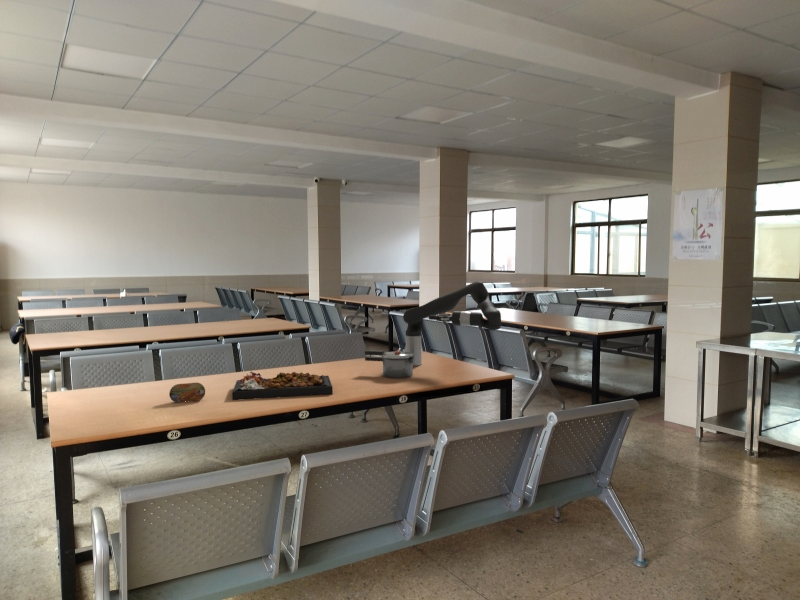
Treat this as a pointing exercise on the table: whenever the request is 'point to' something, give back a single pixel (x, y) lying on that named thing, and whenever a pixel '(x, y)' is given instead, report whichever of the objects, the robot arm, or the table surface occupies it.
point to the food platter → (282, 386)
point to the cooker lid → (391, 354)
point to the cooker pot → (395, 367)
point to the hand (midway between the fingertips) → (429, 317)
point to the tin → (187, 392)
